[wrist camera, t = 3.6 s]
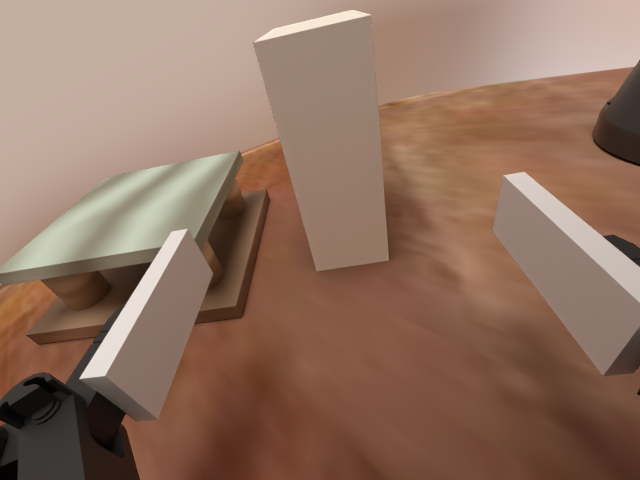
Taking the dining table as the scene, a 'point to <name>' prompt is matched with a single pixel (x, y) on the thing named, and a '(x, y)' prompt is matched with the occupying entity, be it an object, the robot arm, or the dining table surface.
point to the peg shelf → (128, 277)
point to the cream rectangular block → (330, 133)
